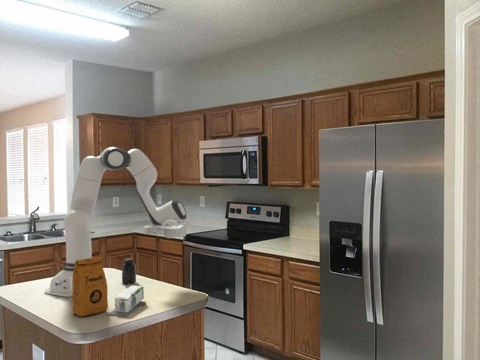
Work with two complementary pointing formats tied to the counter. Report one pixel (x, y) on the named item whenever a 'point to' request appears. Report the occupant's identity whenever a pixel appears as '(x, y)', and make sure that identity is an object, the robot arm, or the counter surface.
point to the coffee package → (89, 287)
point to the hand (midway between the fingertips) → (154, 232)
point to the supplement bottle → (128, 271)
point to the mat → (117, 313)
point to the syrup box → (129, 298)
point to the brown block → (142, 303)
